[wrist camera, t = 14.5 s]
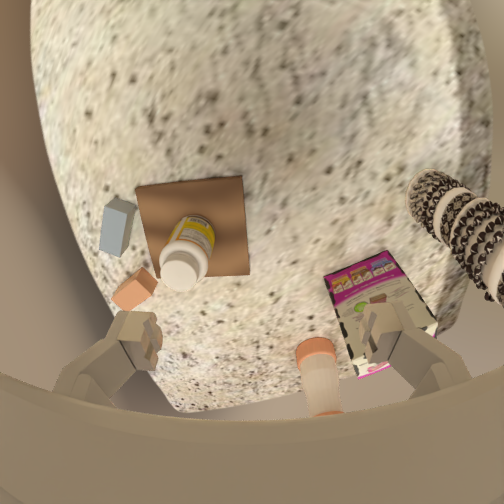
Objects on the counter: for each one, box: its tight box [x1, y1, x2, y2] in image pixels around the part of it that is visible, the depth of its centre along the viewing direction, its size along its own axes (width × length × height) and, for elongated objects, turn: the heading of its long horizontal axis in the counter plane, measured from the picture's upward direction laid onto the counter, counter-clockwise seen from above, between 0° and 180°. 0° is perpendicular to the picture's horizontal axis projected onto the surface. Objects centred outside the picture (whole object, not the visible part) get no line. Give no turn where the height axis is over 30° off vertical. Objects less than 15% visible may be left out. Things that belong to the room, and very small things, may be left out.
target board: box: [135, 176, 250, 278], centre depth 37 cm, size 14×14×1 cm
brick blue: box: [99, 198, 136, 258], centre depth 36 cm, size 7×4×4 cm, turn 158°
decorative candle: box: [405, 169, 504, 308], centre depth 24 cm, size 9×9×25 cm
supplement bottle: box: [159, 215, 215, 292], centre depth 32 cm, size 6×6×10 cm
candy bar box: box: [324, 251, 438, 379], centre depth 34 cm, size 11×5×16 cm, turn 116°
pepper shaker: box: [296, 337, 344, 417], centre depth 42 cm, size 7×7×19 cm
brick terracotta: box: [111, 267, 158, 311], centre depth 42 cm, size 7×4×4 cm, turn 127°
